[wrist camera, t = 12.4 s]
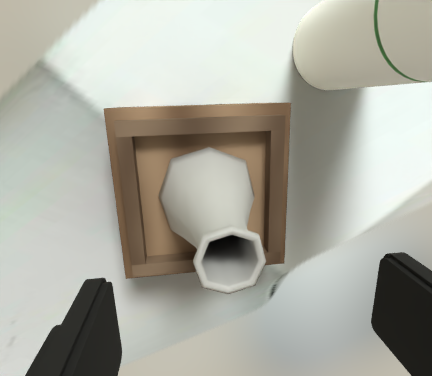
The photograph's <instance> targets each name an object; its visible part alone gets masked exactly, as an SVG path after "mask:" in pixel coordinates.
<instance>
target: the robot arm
mask: <svg viewBox="0 0 432 376" xmlns="http://www.w3.org/2000/svg"><path fill="white" fill-rule="evenodd" d="M371 323H372V327H373V329H374V331H375V332H376V334H377V335H378V336H379V337H380V338H381V340H382V341H383V342H384V343H385V345H386V346H387V347H388V348H389V349H390V351H391V352H392V353H393V354H394V355H395V356H396V358H397V359H398V360H399V361H400V362H401V363H402V365H403V366H404V367H405V368H406V369H407V371H408V372H409V373H410V374H411V376H432V271H431V270H430V269H428V268H427V267H425V266H424V265H422V264H421V263H419V262H418V261H416V260H415V259H413V258H412V257H410V256H409V255H408V254H406V253H402V252H401V253H389V254H386V255H385V256H384V258H383V259H381V260H380V265H379V271H378V279H377V285H376V292H375V299H374V305H373V312H372V319H371ZM121 357H122V347H121V340H120V333H119V326H118V320H117V313H116V306H115V299H114V293H113V286H112V283H111V282H106V279H105V278H97V279H87V280H85V282H84V283H83V285H82V287H81V289H80V291H79V293H78V294H77V296H76V298H75V300H74V302H73V304H72V306H71V307H70V309H69V311H68V313H67V315H66V317H65V319H64V320H63V322H62V324H61V325H56V326H55V327H53V329H52V330H51V331H50V333H49V335H48V336H47V338H46V340H45V342H44V343H43V345H42V347H41V349H40V350H39V352H38V354H37V356H36V357H35V359H34V361H33V363H32V364H31V366H30V368H29V370H28V371H27V373H26V375H25V376H118V371H119V367H120V363H121Z"/></svg>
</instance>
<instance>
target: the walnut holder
mask: <svg viewBox="0 0 432 376" xmlns="http://www.w3.org/2000/svg"><path fill="white" fill-rule="evenodd" d="M290 111H291V103H249V104H216V105H184V106H151V107H119V108H105V109H104V115H105V123H106V130H107V138H108V146H109V153H110V161H111V169H112V176H113V184H114V191H115V199H116V207H117V214H118V222H119V230H120V237H121V245H122V252H123V260H124V268H125V275H126V279H127V278H137V277H148V276H158V275H168V274H178V273H189V272H197V271H196V269H195V266H194V263H193V260H194V257H195V254H196V252H197V248H196V247H195V246H193V245H192V244H191V243H190V242H188V241H187V240H186V239H184V238H183V237H181V236H180V235H178V234H176V233H175V232H173V231H172V230H171V229H170V226H169V223H168V221H167V218H166V215H165V212H164V210H163V207H162V204H161V201H160V199H159V196H158V195H159V192H160V189H161V186H162V183H163V180H164V177H165V175H166V172H167V169H168V166H169V163H170V160H171V159H172V158H176V157H179V156H182V155H185V154H189V153H192V152H195V151H198V150H202V149H205V148H208V147H210V148H213V149H216V150H219V151H221V152H224V153H227V154H230V155H232V156H235V157H238V158H241V159H243V160H246V164H247V168H248V171H249V175H250V179H251V183H252V187H253V191H254V195H255V197H254V201H253V204H252V207H251V210H250V214H249V219H248V224H247V229H248V230H249V231H252V232H255V233H257V234H259V236H260V240H261V244H262V248H263V251H264V255H265V259H266V263H265V265H271V264H281V263H284V257H285V233H286V208H287V184H288V160H289V135H290Z"/></svg>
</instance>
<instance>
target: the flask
mask: <svg viewBox="0 0 432 376" xmlns="http://www.w3.org/2000/svg"><path fill="white" fill-rule="evenodd" d="M158 196H159V199H160V201H161V204H162V207H163V210H164V212H165V215H166V218H167V221H168V223H169V226H170V229H171V230H172V231H173V232H175V233H176V234H178V235H180V236H181V237H183V238H184V239H186V240H187V241H188V242H190V243H191V244H192V245H193V246H195V247H196V248H197V252H196V254H195V257H194V260H193V263H194V266H195V269H196V271H197V274H198V277H199V280H200V283H201V286H202V288H206V289H210V290H214V291H218V292H222V293H226V294H230V293H234V292H237V291H240V290H243V289H246V288H249V287H252V286H255V285H256V282H257V280H258V278H259V276H260V274H261V271H262V269H263V267H264V265H265V263H266V259H265V255H264V251H263V248H262V244H261V240H260V236H259V234H257V233H255V232H252V231H249V230H248V229H247V224H248V219H249V214H250V210H251V207H252V204H253V201H254V197H255V195H254V191H253V187H252V183H251V179H250V175H249V171H248V168H247V164H246V160H243V159H241V158H238V157H235V156H232V155H230V154H227V153H224V152H221V151H219V150H216V149H213V148H210V147H208V148H205V149H202V150H198V151H195V152H192V153H189V154H185V155H182V156H179V157H176V158H172V159H171V160H170V163H169V166H168V169H167V172H166V175H165V177H164V180H163V183H162V186H161V189H160V192H159V195H158Z"/></svg>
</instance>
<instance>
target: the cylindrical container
mask: <svg viewBox="0 0 432 376" xmlns="http://www.w3.org/2000/svg"><path fill="white" fill-rule="evenodd" d="M293 57H294V61H295V65H296V68H297V70H298V72H299V74H300V75H301V76H302V78H303V79H304V80H305V81H306V82H307V83H308V84H310V85H312V86H313V87H315V88H318V89H321V90H339V89H351V88H363V87H374V86H386V85H398V84H410V83H422V82H432V0H323V1H321V2H320V3H319V4H317V5H316V6H314V7H313V8H312V9H310V10H309V11H308V12H307V13H306V14H305V16H304V17H303V18H302V20H301V21H300V23H299V25H298V27H297V29H296V33H295V36H294V41H293Z"/></svg>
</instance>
